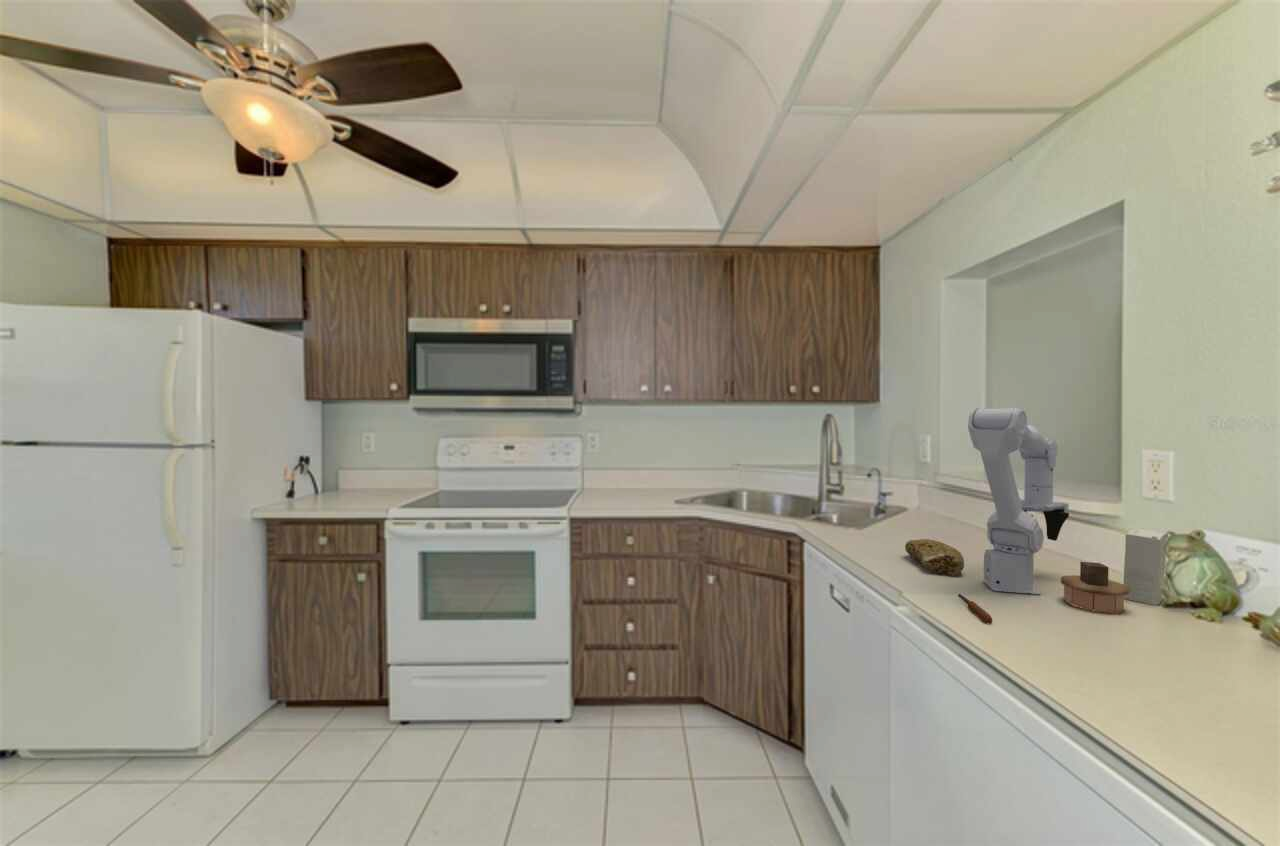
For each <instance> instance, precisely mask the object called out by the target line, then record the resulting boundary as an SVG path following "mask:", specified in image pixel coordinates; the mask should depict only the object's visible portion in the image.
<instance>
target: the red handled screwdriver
mask: <svg viewBox="0 0 1280 846" xmlns="http://www.w3.org/2000/svg"><path fill="white" fill-rule="evenodd" d="M957 596H958V598H959V599H960V598H961V599H962V600H963V601H964V602H965V603H966V604H965V603H964V602H963V601H962V600H961V599H960V600H961V601H962V602H963V603H964V604H965V605H967V604H968V605H967V609H968V608H969V609H970V610H971V612H972V613H973V614H974V615H975V614H976V615H977V616H978V617H979V618H980V619H981V620H982V621H981V620H980V619H979V618H978V617H977V616H976V615H975V616H976V617H977V618H978V619H979V620H980V621H981V622H982V623H984V622H985V623H984V624H986V623H990V624H992V623H993V618H992V616H991V615H990V614H989V612H987V611H986V610H985V609H983V608H982V607H981V606H980V605H978V604H977V603H976V602H974V601H972V600H969V599H968V598H966V597H965V596H964V595H962V594H961V593H958V594H957ZM969 609H968V610H969ZM970 610H969V611H970ZM990 624H989V625H990Z"/></svg>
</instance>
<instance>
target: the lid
mask: <svg viewBox="0 0 1280 846" xmlns="http://www.w3.org/2000/svg"><path fill="white" fill-rule="evenodd" d="M1079 566H1080V569H1079V571H1080V574H1079V575H1074V574H1073V575H1063V576H1061V578H1060V583H1061V584H1062V585H1063V586H1064V585H1065V586H1067V587H1070V588H1073V589H1076V590H1080V591H1084V592H1089V593H1095V594H1102V595H1127V594H1129V587H1127V586H1126V585H1124V583H1121V582H1118V581H1114V580H1110V579H1109V567H1108V566H1106V565H1104V564H1102V563H1100V562H1092V561H1091V562H1088V561H1080V565H1079Z"/></svg>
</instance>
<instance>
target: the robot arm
mask: <svg viewBox="0 0 1280 846" xmlns="http://www.w3.org/2000/svg"><path fill="white" fill-rule="evenodd" d="M1027 417H1028V416H1027V413H1026V411H1025V410H1024V409H1023V408H1022V407H1015V408H1014V407H1013V408H1011V407H1010V408H979V407H976V408H973V409H972V411H970V414H969V417H968V423H967V430H968V432H969V436H970V440H971V442H972V446H973V448H974V449H975V450H977V451H979V452H980V456H981V461H982V464H983V467H984V470H985V474H986V478H987V482H988V485H989V490H990V493H991V496H992V501H993V504H994V506H995V511H994V512H993V513H991V514H990V515H989V517H988V520H987V522H986V528H987V533H986V535H987V541H989V543H990V545H992V546H993V549H992V548H991V549H990V548H989V549H986V550H985V551H984V554H983V579H982V582H983V583H984V584H985V585H986V586H987V587H988V588H990V589H991V590H992V591H993V590H994V592H1002V591H1003V592H1005V593H1006V592H1007V593H1014V592H1015V593H1018V594H1027V593H1028V595H1042V594H1041V591H1039V590H1038V589H1037V588H1035V587H1034V564H1035V563H1034V557H1035V554H1036V553H1038V552H1039V551H1041V550H1042V548H1043V545H1044V538H1045V537H1044V536H1045V535H1044V531H1043V529H1042V527H1041V526H1040V524H1039V522H1038V520H1037V518H1036V517H1035V516H1034V515H1033V514H1030V513H1029V512H1042V513H1043V516H1044V520H1045V525H1046V537H1047V540H1051V541H1055V542H1056V541H1057V540H1058V538H1059V535H1060V532H1061V529H1062V527H1063V525H1064V523H1065V522H1066V521H1067V520H1068V518H1069V516H1070V513H1069V512H1068V511H1069V503H1068V502H1063V501H1054V500H1053V499H1054V494H1053V493H1054V468H1056V461H1057V456H1058V443H1057V441H1056V440H1055V439H1052V437H1045V436H1044V435H1043V434H1042V433H1041V432H1040V431H1039V430H1038V429H1037V428H1036V427H1035V426H1034V425H1033V424H1028V418H1027ZM1016 451H1019V453H1020V456H1021V459H1022V460H1024V493H1023V495H1024V496H1023V497H1024V501H1021V498H1020V495H1019V491H1018V486H1017V483H1016V479H1015V475H1014V472H1013V467H1012V463H1011V461H1010V460H1011V459H1010V454H1012V453H1014V452H1016ZM1029 593H1030V594H1029Z"/></svg>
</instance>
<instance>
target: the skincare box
mask: <svg viewBox="0 0 1280 846" xmlns="http://www.w3.org/2000/svg"><path fill="white" fill-rule="evenodd" d="M1165 543H1166V544H1167V533H1166V532H1161V531H1155V530H1146V529H1140V528H1132V529H1130V530H1129V531H1128V532H1127V533H1126V534H1125V550H1124V551H1125V552H1124V565H1123V566H1124V567H1123V568H1124V569H1123V584H1124V585H1126V586H1127V587H1129V594H1127V595H1124V600H1127V599H1129V601H1132V600H1134V601H1133V602H1137V601H1140V602H1139V603H1141V602H1144V603H1143V604H1146V603H1148V604H1147V605H1151V604H1153V605H1152V606H1156V605H1157V606H1159V604H1160V603H1161V602H1162V600H1163V598H1164V597H1162V593H1161V591H1160V587H1161V583H1162V578H1163V576H1164V569H1165V570H1166V558H1167V557H1166V555H1167V553H1166V554H1165V553H1164V545H1165Z"/></svg>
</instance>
